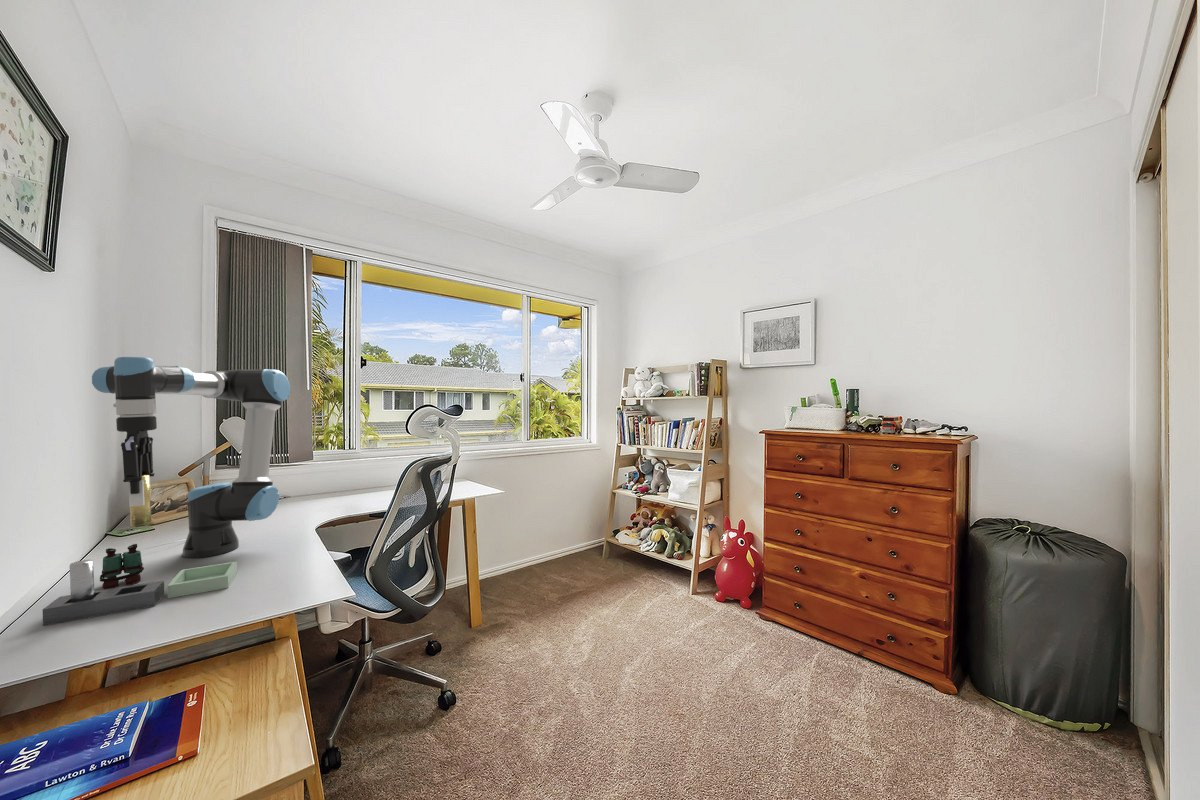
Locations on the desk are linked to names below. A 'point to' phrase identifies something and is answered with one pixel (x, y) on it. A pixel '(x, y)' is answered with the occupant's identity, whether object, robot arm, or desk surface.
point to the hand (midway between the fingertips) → (140, 503)
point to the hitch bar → (104, 603)
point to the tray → (202, 579)
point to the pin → (82, 580)
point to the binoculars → (121, 567)
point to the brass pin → (142, 507)
